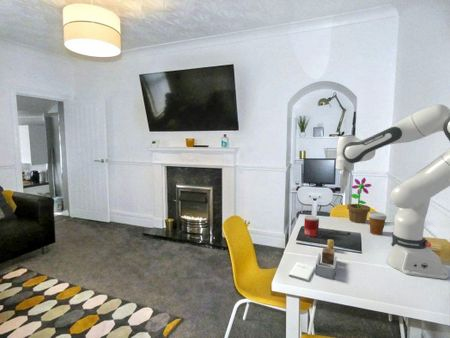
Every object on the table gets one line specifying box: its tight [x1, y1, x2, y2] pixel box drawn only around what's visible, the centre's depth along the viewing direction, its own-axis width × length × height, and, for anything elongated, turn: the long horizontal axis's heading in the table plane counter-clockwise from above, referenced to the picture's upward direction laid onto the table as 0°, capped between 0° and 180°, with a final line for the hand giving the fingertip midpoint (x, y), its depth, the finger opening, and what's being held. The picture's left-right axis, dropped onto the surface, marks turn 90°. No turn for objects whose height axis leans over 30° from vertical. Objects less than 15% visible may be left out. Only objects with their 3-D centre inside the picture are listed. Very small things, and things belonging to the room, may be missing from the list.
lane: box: [314, 253, 338, 280], centre depth 115 cm, size 8×12×4 cm, turn 154°
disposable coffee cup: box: [368, 211, 388, 236], centre depth 158 cm, size 10×10×12 cm
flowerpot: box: [346, 177, 372, 224], centre depth 179 cm, size 14×14×30 cm
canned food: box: [303, 214, 320, 238], centre depth 155 cm, size 8×8×11 cm
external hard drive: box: [288, 262, 316, 283], centre depth 114 cm, size 2×8×12 cm
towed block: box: [321, 238, 336, 265], centre depth 129 cm, size 5×18×5 cm, turn 154°
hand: (343, 191), depth 141 cm, fingers open, 8 cm apart
